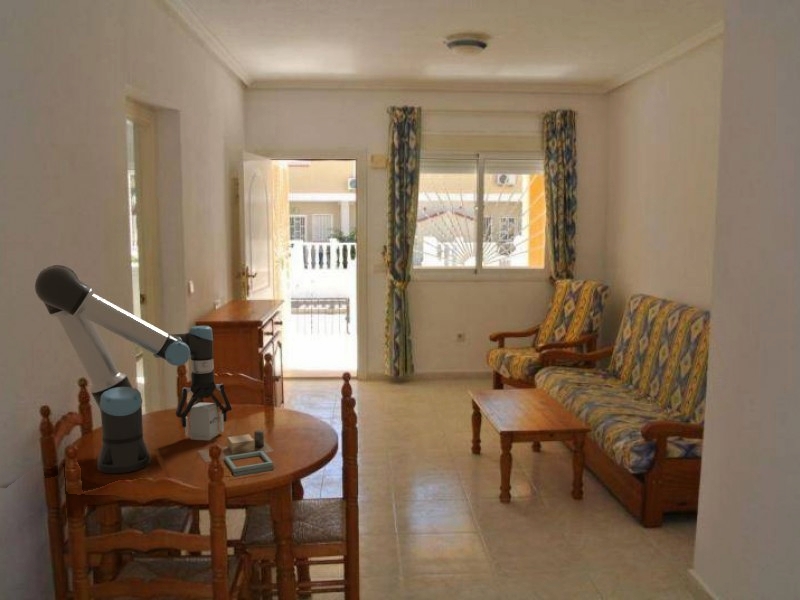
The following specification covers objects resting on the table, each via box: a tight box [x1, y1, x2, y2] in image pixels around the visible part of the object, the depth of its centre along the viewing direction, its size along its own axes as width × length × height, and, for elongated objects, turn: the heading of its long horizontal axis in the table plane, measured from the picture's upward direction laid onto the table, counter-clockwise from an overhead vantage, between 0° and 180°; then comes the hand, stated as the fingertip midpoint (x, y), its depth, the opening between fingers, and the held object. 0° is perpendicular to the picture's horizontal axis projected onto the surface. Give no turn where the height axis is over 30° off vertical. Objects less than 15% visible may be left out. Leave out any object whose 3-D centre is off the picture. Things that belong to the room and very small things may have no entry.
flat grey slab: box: [197, 429, 275, 463], centre depth 216 cm, size 22×12×6 cm, turn 117°
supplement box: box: [189, 402, 220, 441], centre depth 230 cm, size 7×7×13 cm
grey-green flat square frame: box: [224, 451, 274, 478], centre depth 205 cm, size 12×12×2 cm
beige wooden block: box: [227, 433, 255, 454], centre depth 217 cm, size 7×7×4 cm
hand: (204, 433), depth 231 cm, fingers open, 11 cm apart
